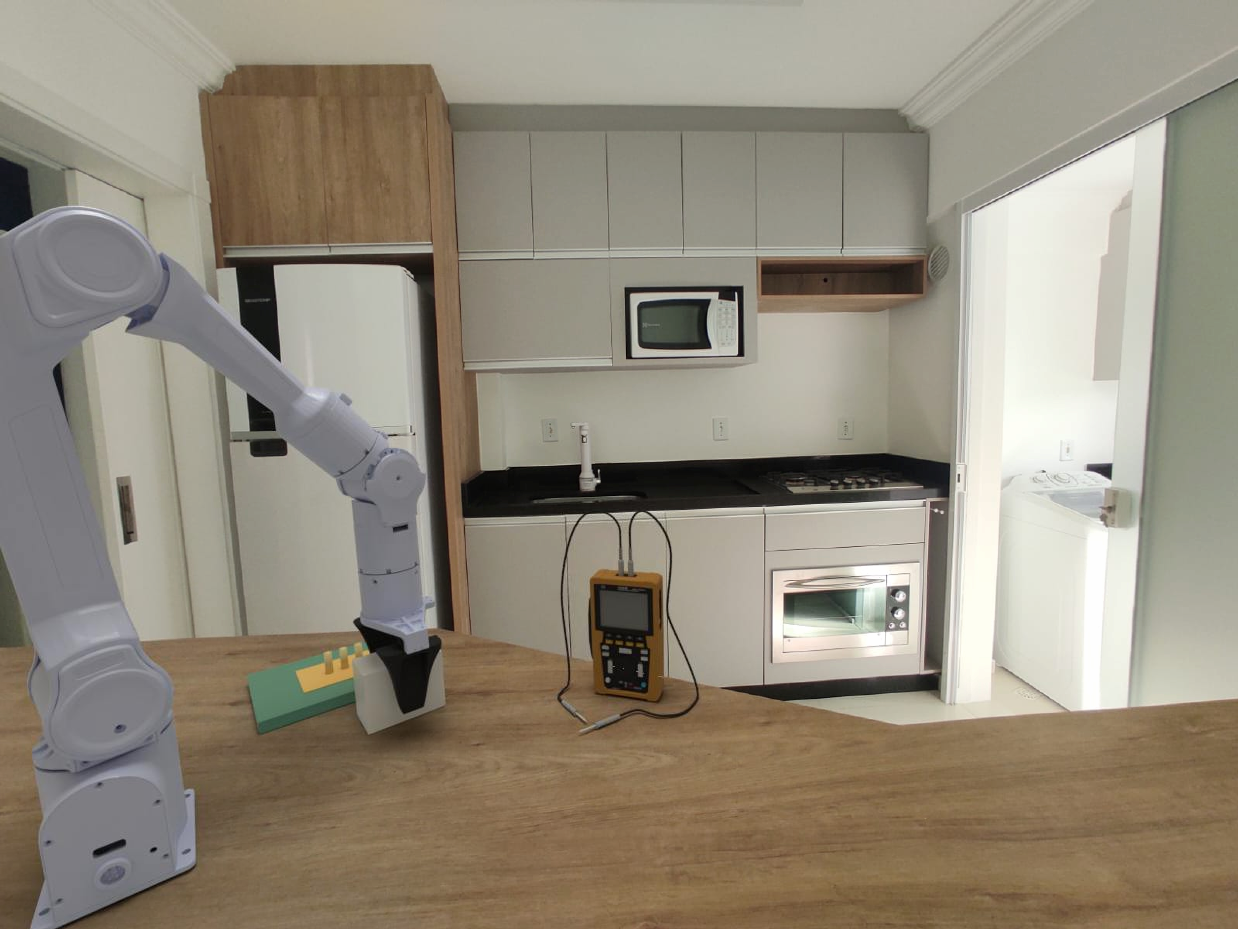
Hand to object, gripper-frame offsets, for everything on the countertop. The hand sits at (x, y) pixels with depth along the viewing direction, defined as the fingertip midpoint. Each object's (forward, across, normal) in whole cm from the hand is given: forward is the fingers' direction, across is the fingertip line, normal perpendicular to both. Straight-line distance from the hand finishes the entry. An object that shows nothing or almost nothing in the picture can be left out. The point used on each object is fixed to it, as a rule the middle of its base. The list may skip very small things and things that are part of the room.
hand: (400, 693), depth 56 cm
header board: (+2, +11, +3) cm, 12 cm away
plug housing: (+2, 0, 0) cm, 2 cm away
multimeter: (+2, -15, -17) cm, 23 cm away
